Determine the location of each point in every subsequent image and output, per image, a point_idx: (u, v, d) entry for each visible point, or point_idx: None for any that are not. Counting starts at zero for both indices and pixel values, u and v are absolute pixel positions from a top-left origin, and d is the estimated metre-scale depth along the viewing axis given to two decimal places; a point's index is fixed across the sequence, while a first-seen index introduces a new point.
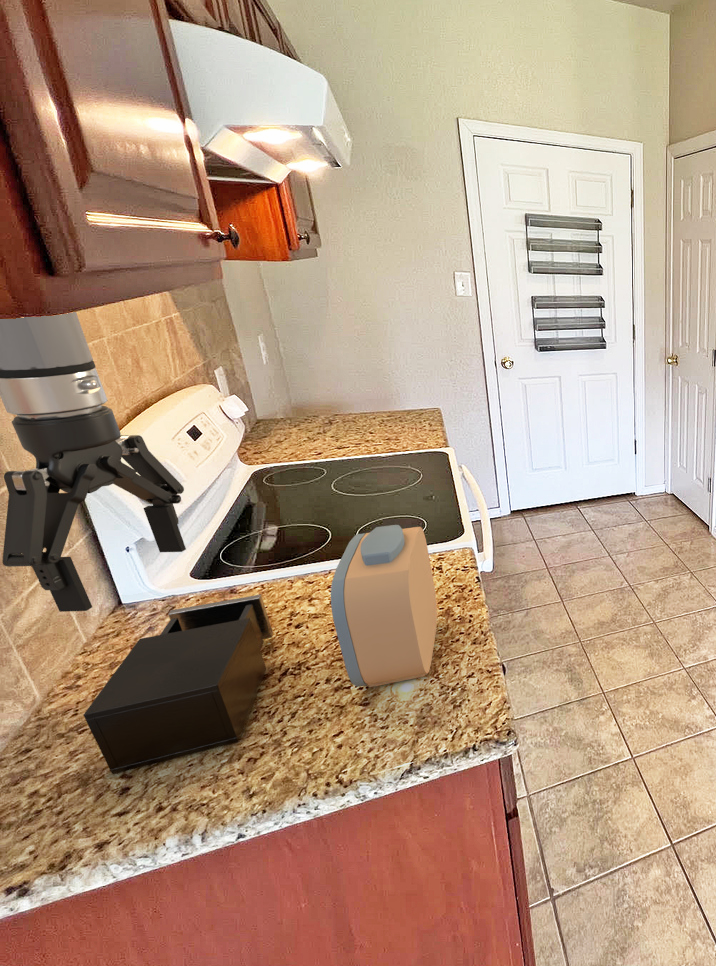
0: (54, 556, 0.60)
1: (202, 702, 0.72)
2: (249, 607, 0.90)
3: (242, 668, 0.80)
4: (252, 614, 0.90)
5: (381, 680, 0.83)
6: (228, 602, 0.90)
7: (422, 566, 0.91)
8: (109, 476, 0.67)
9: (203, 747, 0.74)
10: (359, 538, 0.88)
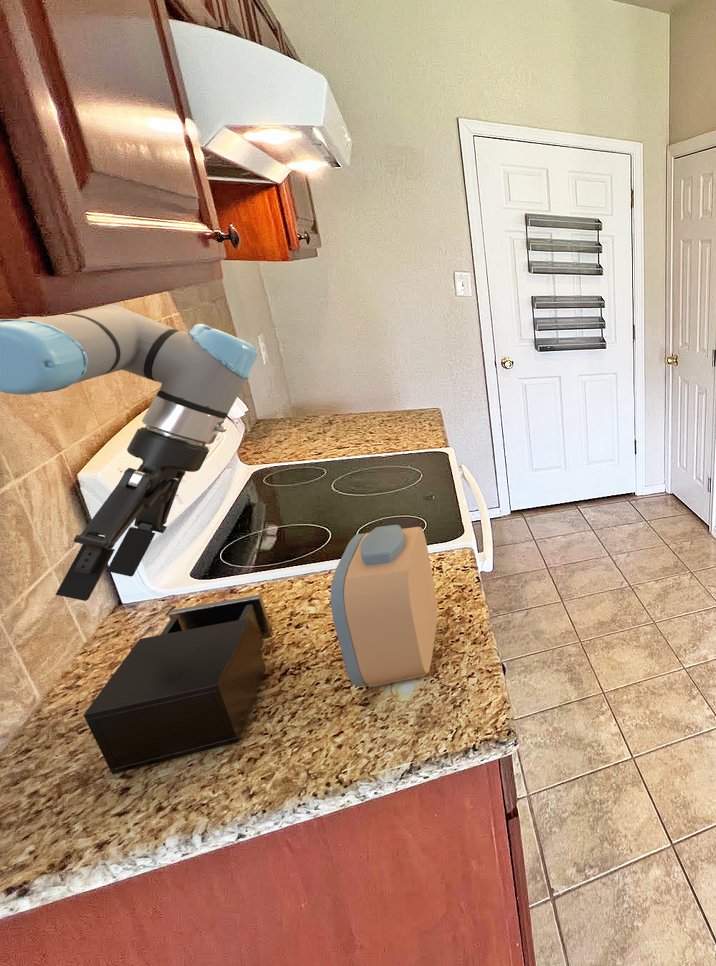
0: (112, 545, 0.69)
1: (202, 702, 0.72)
2: (249, 607, 0.90)
3: (242, 668, 0.80)
4: (252, 614, 0.90)
5: (381, 680, 0.83)
6: (228, 602, 0.90)
7: (422, 566, 0.91)
8: (160, 494, 0.78)
9: (203, 747, 0.74)
10: (359, 538, 0.88)
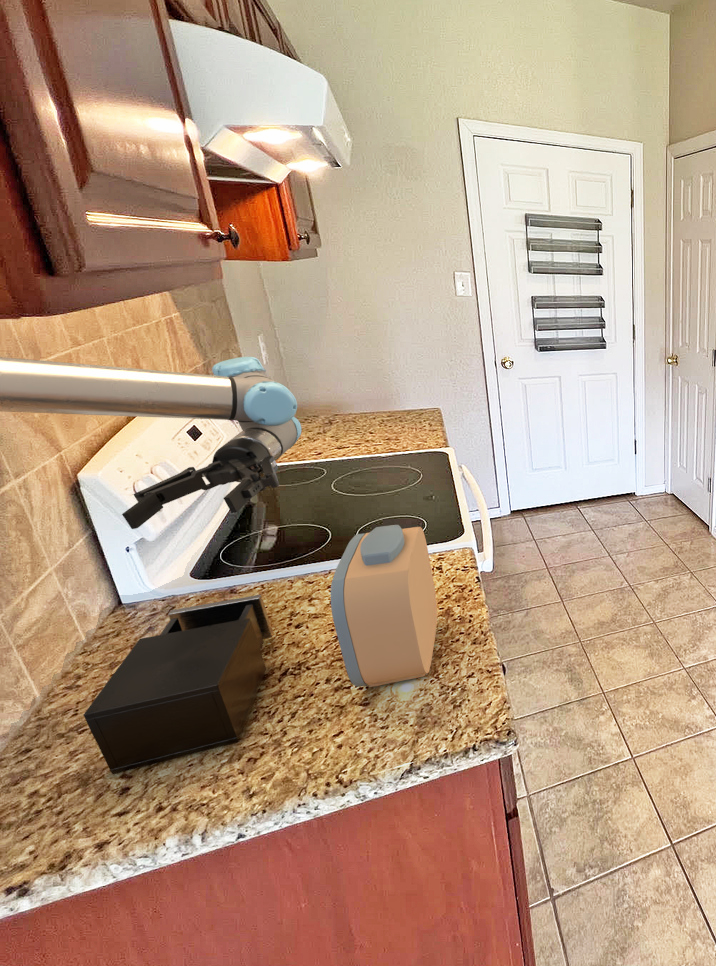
0: None
1: (202, 702, 0.72)
2: (249, 607, 0.90)
3: (242, 668, 0.80)
4: (252, 614, 0.90)
5: (381, 680, 0.83)
6: (228, 602, 0.90)
7: (422, 566, 0.91)
8: None
9: (203, 747, 0.74)
10: (359, 538, 0.88)
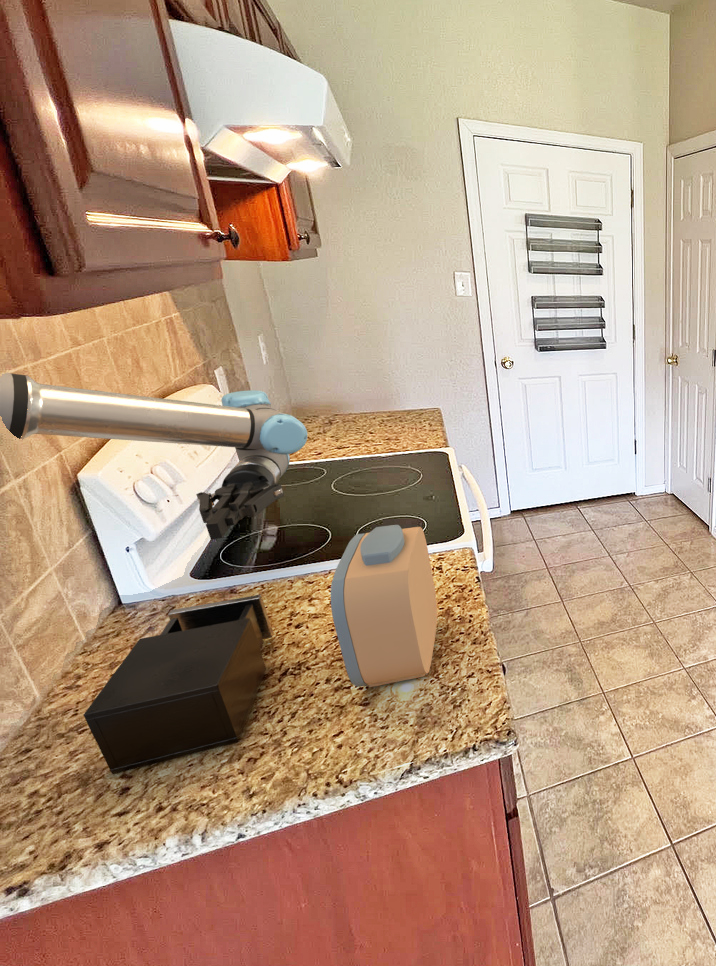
0: None
1: (202, 702, 0.72)
2: (249, 607, 0.90)
3: (242, 668, 0.80)
4: (252, 614, 0.90)
5: (381, 680, 0.83)
6: (228, 602, 0.90)
7: (422, 566, 0.91)
8: None
9: (203, 747, 0.74)
10: (359, 538, 0.88)
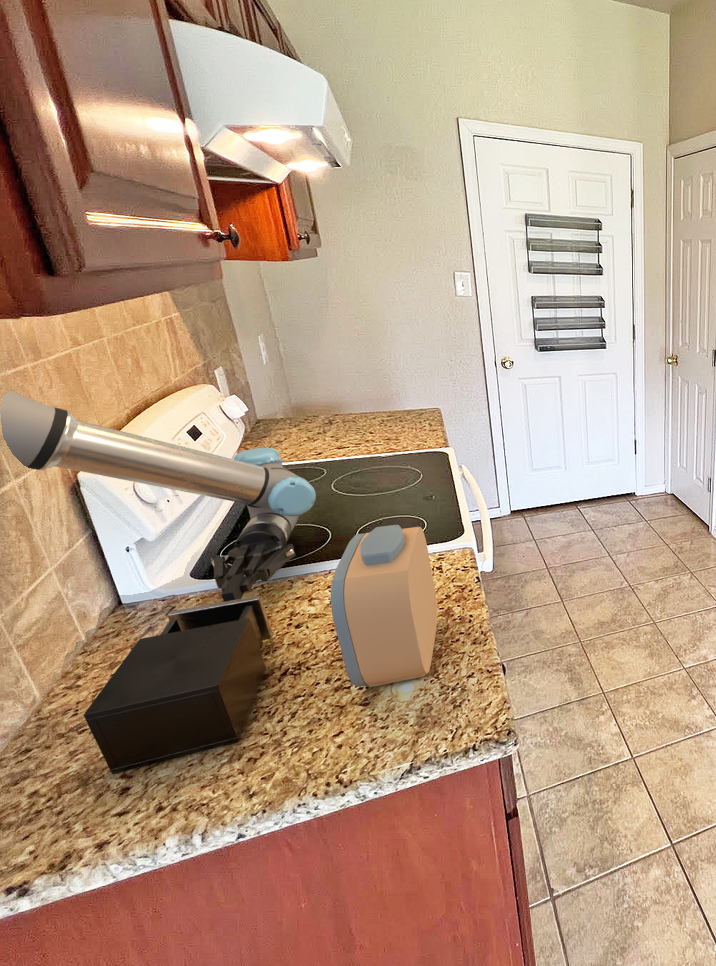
0: None
1: (202, 702, 0.72)
2: (248, 608, 0.89)
3: (242, 668, 0.80)
4: (251, 615, 0.90)
5: (381, 680, 0.83)
6: (228, 603, 0.90)
7: (422, 566, 0.91)
8: None
9: (203, 747, 0.74)
10: (359, 538, 0.88)
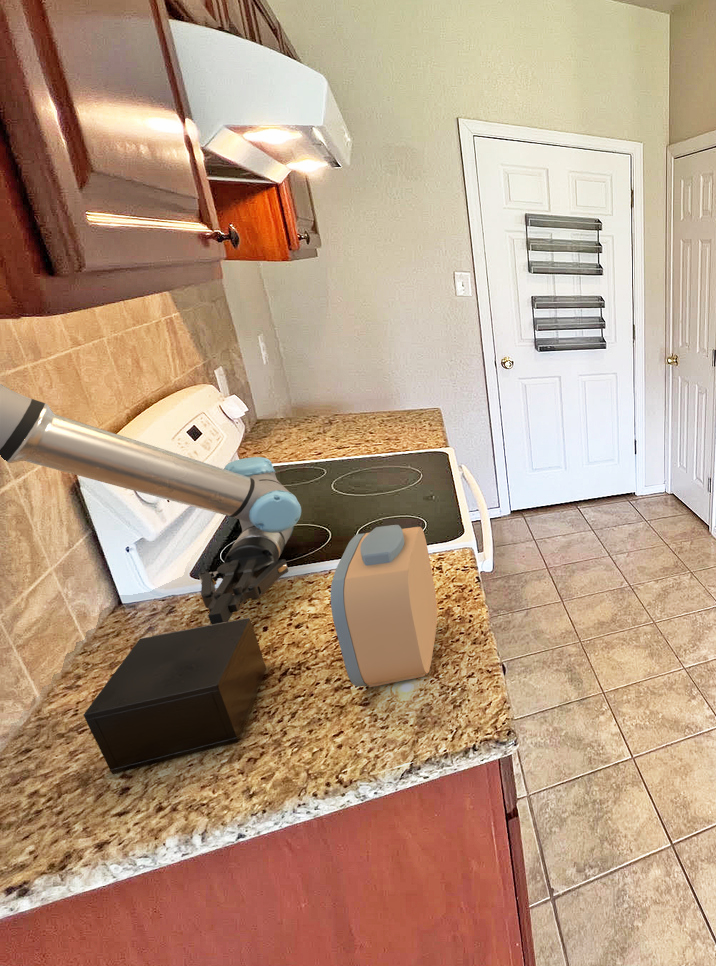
0: None
1: (202, 702, 0.72)
2: None
3: (242, 668, 0.80)
4: None
5: (381, 680, 0.83)
6: None
7: (422, 566, 0.91)
8: None
9: (203, 747, 0.74)
10: (359, 538, 0.88)
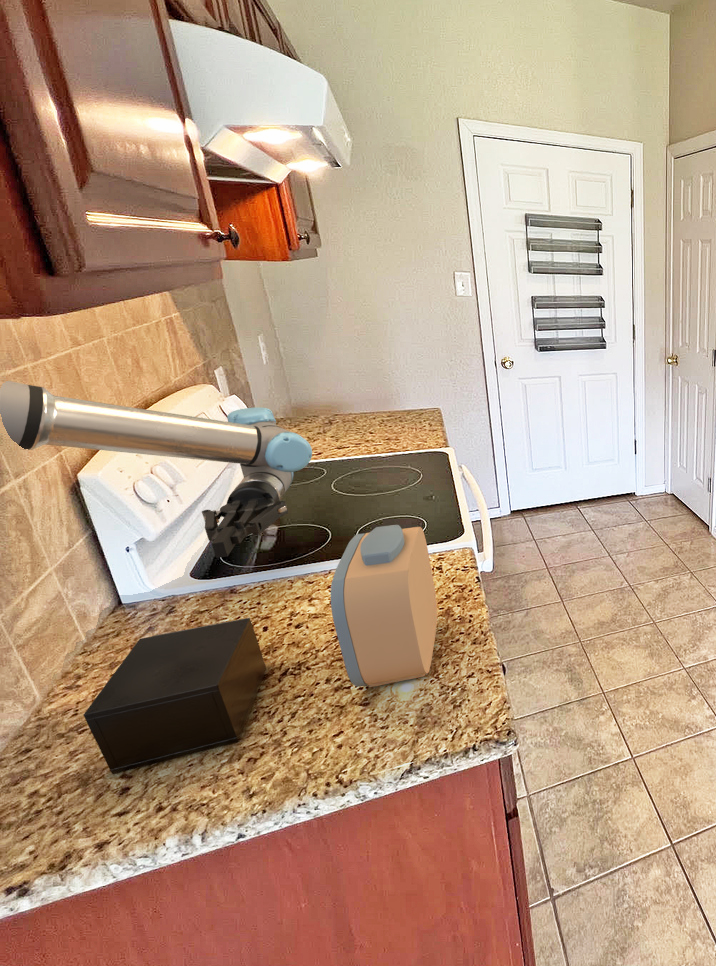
0: None
1: (202, 702, 0.72)
2: None
3: (242, 668, 0.80)
4: None
5: (381, 680, 0.83)
6: None
7: (422, 566, 0.91)
8: None
9: (203, 747, 0.74)
10: (359, 538, 0.88)
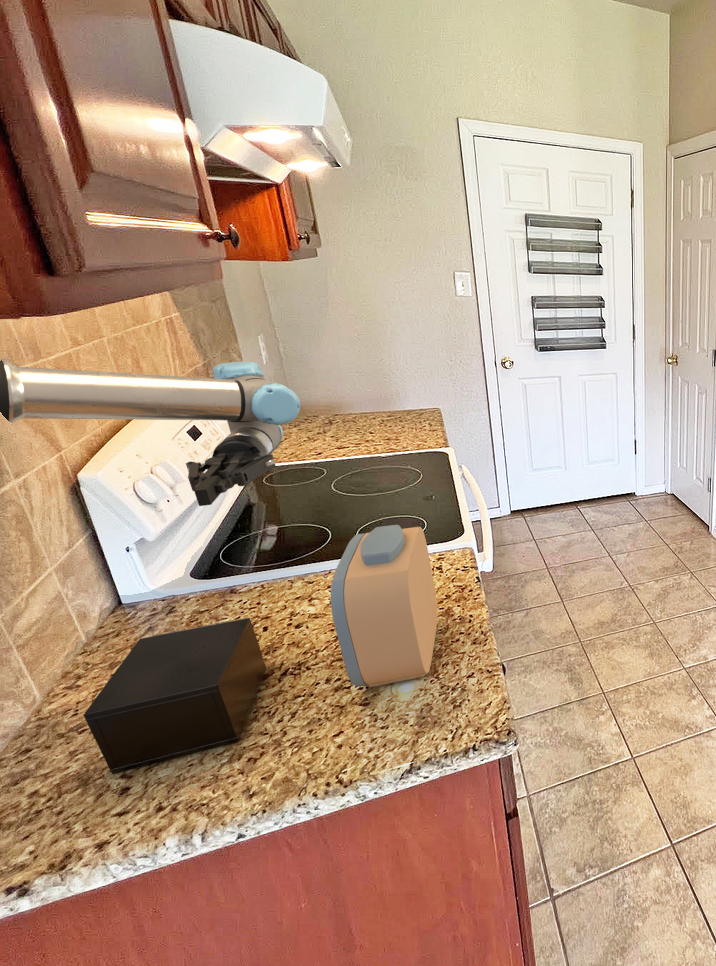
0: None
1: (202, 702, 0.72)
2: None
3: (242, 668, 0.80)
4: None
5: (381, 680, 0.83)
6: None
7: (422, 566, 0.91)
8: None
9: (203, 747, 0.74)
10: (359, 538, 0.88)
